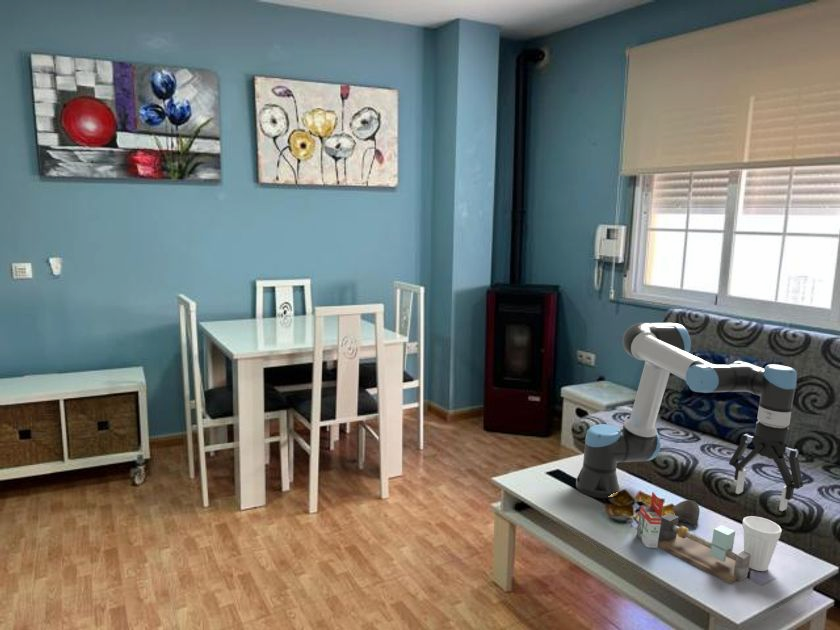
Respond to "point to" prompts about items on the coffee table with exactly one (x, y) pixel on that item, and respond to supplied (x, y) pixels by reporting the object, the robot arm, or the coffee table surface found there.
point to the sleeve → (722, 542)
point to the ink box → (650, 522)
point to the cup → (760, 541)
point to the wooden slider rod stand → (700, 551)
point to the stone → (687, 512)
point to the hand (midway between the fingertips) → (760, 500)
